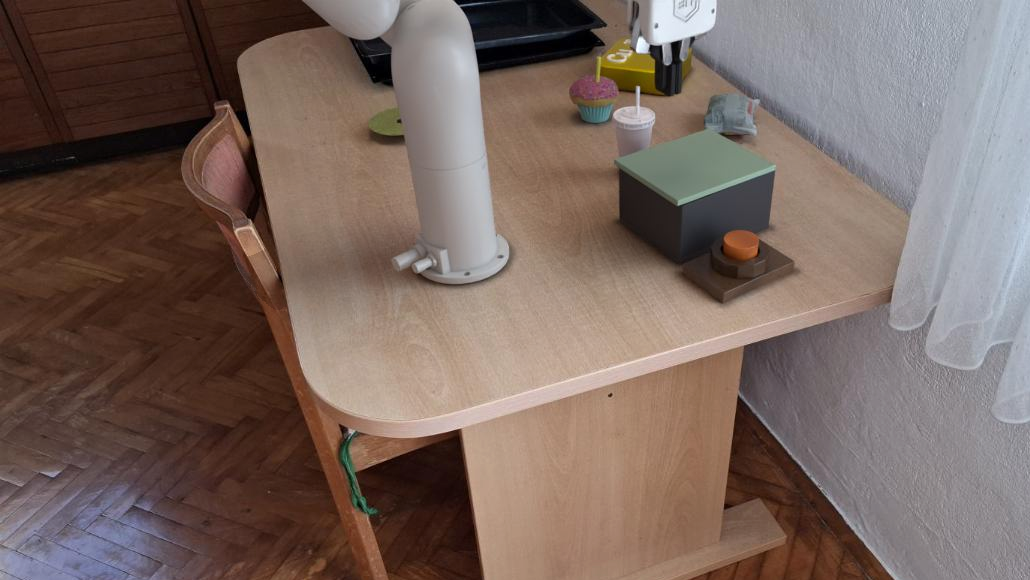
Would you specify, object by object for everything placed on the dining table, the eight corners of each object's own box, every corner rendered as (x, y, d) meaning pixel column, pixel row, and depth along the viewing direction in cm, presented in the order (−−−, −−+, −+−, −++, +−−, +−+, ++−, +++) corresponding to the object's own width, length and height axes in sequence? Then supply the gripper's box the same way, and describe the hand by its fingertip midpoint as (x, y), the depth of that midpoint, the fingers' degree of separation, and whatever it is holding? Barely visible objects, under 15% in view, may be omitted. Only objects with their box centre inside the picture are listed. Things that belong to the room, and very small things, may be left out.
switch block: (722, 303, 106) (725, 280, 103) (682, 274, 111) (683, 250, 108) (793, 271, 111) (797, 248, 108) (751, 244, 116) (754, 221, 114)
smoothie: (650, 185, 129) (652, 96, 120) (609, 181, 130) (608, 93, 122) (656, 165, 134) (659, 79, 125) (616, 162, 135) (616, 76, 126)
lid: (677, 206, 106) (677, 200, 106) (613, 164, 115) (613, 159, 115) (775, 170, 113) (776, 164, 113) (708, 133, 122) (708, 128, 122)
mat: (417, 149, 140) (415, 138, 139) (357, 140, 143) (355, 129, 142) (448, 120, 148) (446, 110, 147) (391, 113, 151) (389, 102, 150)
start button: (738, 265, 106) (739, 252, 105) (715, 250, 109) (716, 237, 108) (764, 254, 108) (766, 241, 107) (741, 239, 111) (742, 226, 110)
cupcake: (628, 119, 147) (629, 50, 140) (588, 132, 144) (585, 62, 136) (600, 103, 153) (599, 36, 145) (560, 115, 149) (557, 47, 142)
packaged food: (758, 115, 148) (761, 87, 145) (755, 145, 139) (757, 117, 136) (708, 112, 149) (709, 85, 146) (701, 142, 140) (702, 114, 137)
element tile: (671, 97, 154) (672, 71, 151) (593, 87, 158) (593, 61, 155) (693, 67, 165) (694, 42, 162) (620, 58, 169) (620, 34, 166)
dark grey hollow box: (679, 265, 112) (682, 206, 107) (618, 221, 121) (618, 164, 116) (768, 228, 119) (775, 170, 114) (704, 188, 128) (708, 133, 122)
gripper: (638, -51, 88) (636, 117, 99) (747, -74, 94) (734, 86, 105) (597, -66, 92) (600, 96, 104) (703, -87, 99) (695, 68, 110)
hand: (667, 91), depth 105 cm, fingers closed
